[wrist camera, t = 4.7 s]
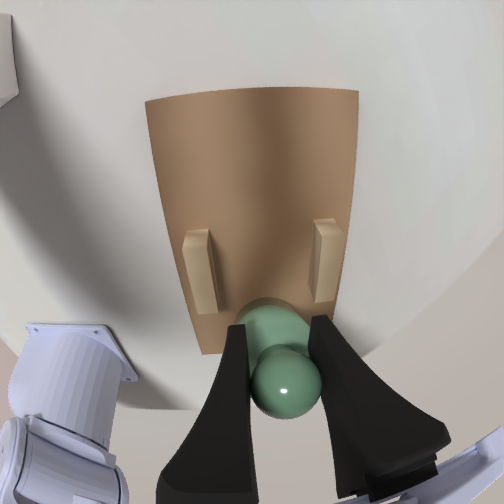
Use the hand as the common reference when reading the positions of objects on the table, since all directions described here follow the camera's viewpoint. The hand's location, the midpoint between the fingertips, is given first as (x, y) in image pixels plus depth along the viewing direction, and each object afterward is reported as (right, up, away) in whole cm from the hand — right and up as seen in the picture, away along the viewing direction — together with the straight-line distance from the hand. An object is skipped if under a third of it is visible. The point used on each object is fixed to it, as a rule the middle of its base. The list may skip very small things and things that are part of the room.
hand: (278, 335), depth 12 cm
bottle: (0, -2, +6) cm, 7 cm away
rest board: (-1, +4, +5) cm, 6 cm away
